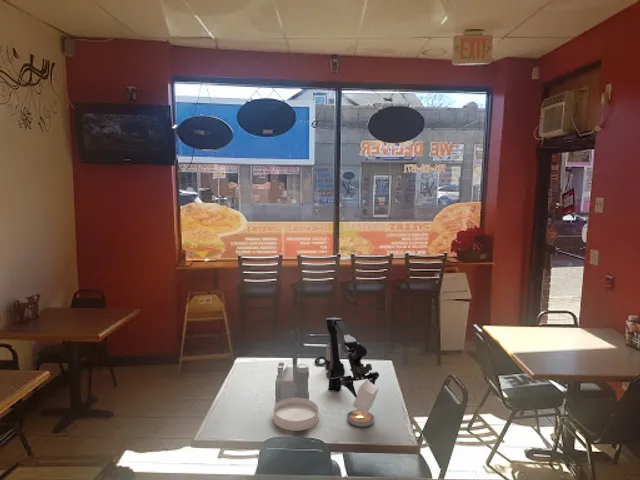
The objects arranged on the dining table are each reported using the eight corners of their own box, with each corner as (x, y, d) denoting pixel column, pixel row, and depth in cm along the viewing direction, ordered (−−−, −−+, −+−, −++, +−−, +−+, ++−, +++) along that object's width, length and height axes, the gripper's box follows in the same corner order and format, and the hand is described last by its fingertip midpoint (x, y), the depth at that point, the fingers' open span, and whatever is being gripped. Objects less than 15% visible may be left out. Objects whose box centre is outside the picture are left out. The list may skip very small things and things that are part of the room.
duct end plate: (345, 426, 218) (345, 421, 217) (348, 411, 230) (348, 408, 230) (372, 429, 215) (373, 425, 215) (374, 415, 228) (374, 411, 228)
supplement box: (365, 415, 218) (372, 395, 213) (352, 406, 221) (359, 386, 216) (372, 407, 224) (379, 387, 219) (359, 398, 227) (366, 379, 222)
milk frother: (340, 371, 275) (341, 348, 273) (314, 371, 275) (315, 347, 273) (339, 362, 289) (340, 339, 287) (314, 361, 289) (315, 338, 287)
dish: (328, 419, 224) (328, 409, 223) (294, 436, 208) (294, 426, 207) (297, 402, 239) (297, 393, 238) (263, 417, 224) (263, 408, 223)
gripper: (344, 360, 219) (353, 393, 210) (378, 355, 226) (388, 387, 217) (336, 369, 227) (345, 400, 219) (370, 364, 234) (379, 394, 226)
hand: (365, 395), depth 220 cm, fingers closed on supplement box, 9 cm apart
